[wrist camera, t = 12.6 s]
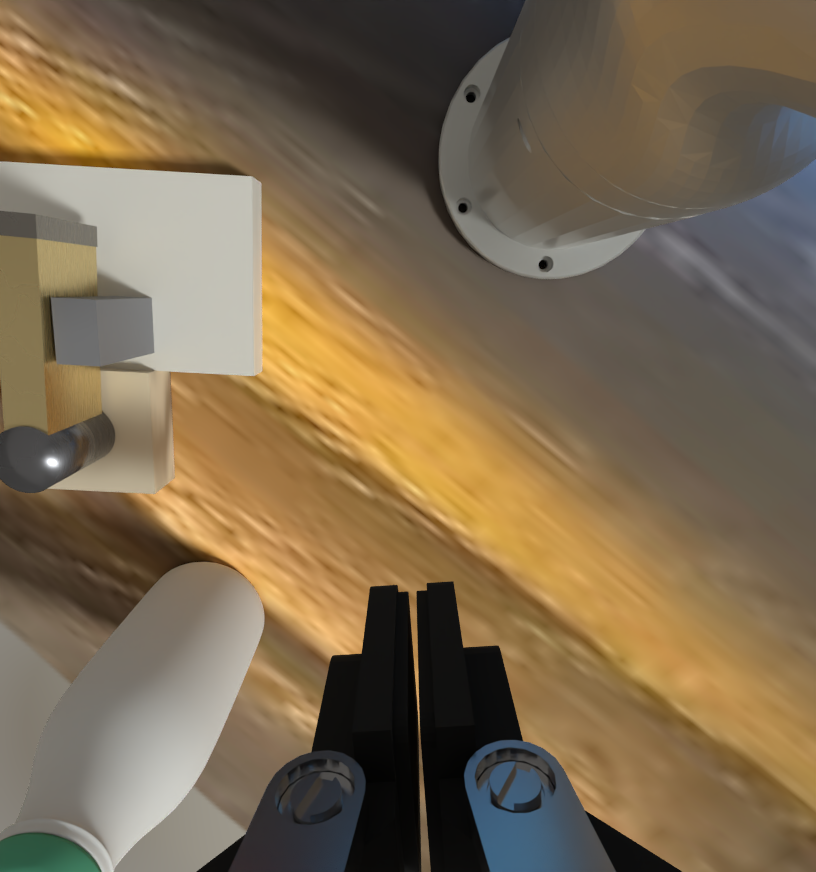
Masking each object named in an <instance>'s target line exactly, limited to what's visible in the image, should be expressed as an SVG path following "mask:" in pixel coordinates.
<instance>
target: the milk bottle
mask: <svg viewBox="0 0 816 872" xmlns="http://www.w3.org/2000/svg"><path fill="white" fill-rule="evenodd" d="M263 628H264V610H263V605H262V602H261V600H260V597H259V595H258V593H257V591H256V590H255V588H254V586H253V585H252V584H251V583H250V582H249V581H248V580H247V578H245V577H244V576H243V575H241V574H240V573H239V572H238V571H236V570H234V569H232V568H230V567H228V566H225V565H221V564H218V563H212V562H193V563H188V564H184V565H181V566H178V567H176V568H174V569H172V570H170V571H169V572H167V573H166V574H164V575H163V576H162V577H161V578H160V579H159V580H158V581H157V582H156V583H155V584H154V585H153V587H152V588H151V589H150V590H149V591H148V592H147V593H146V595H145V596H144V597H143V598H142V599H141V600H140V602H139V603H138V604H137V605H136V606H135V607H134V609H133V610H132V611H131V612H130V613H129V615H128V616H127V617H126V618H125V619H124V620H123V622H122V623H121V624H120V625H119V626H118V628H117V629H116V630H115V631H114V632H113V633H112V635H111V636H110V637H109V638H108V639H107V641H106V642H105V643H104V644H103V645H102V647H101V648H100V649H99V650H98V651H97V653H96V654H95V655H94V656H93V658H92V659H91V660H90V661H89V662H88V664H87V665H86V666H85V667H84V668H83V670H82V671H81V672H80V674H79V675H78V676H77V678H76V679H75V680H74V681H73V683H72V684H71V685H70V687H69V688H68V689H67V691H66V692H65V693H64V695H63V696H62V697H61V699H60V701H59V702H58V704H57V705H56V707H55V709H54V710H53V712H52V713H51V715H50V717H49V719H48V721H47V723H46V725H45V728H44V730H43V732H42V734H41V737H40V740H39V743H38V746H37V749H36V753H35V757H34V762H33V768H32V773H31V778H30V783H29V787H28V791H27V794H26V798H25V800H24V803H23V806H22V808H21V811H20V813H19V816H18V818H17V820H16V822H15V823H14V824H12V825H11V826H9V827H7V828H6V829H4V830H3V831H2V832H1V833H0V872H114V868H115V867H116V865H117V864H118V863H119V862H120V860H121V859H122V858H123V857H124V855H125V854H126V853H127V852H128V851H129V850H130V849H131V848H132V847H133V845H135V843H136V842H138V840H140V839H141V838H142V837H143V836H144V835H145V834H147V833H148V832H149V831H150V830H151V829H153V828H154V827H155V826H156V825H158V824H159V823H160V822H161V821H162V820H163V819H164V818H165V817H167V816H168V814H170V813H171V812H172V811H173V810H174V809H175V808H176V807H177V806H178V805H179V803H180V802H181V801H182V800H183V799H184V797H185V796H186V795H187V794H188V792H189V791H190V790H191V788H192V787H193V785H194V784H195V782H196V781H197V779H198V777H199V776H200V774H201V772H202V771H203V769H204V767H205V765H206V763H207V761H208V759H209V757H210V755H211V753H212V751H213V749H214V747H215V744H216V742H217V740H218V738H219V736H220V733H221V731H222V729H223V727H224V724H225V722H226V720H227V717H228V715H229V713H230V710H231V708H232V706H233V703H234V701H235V699H236V696H237V694H238V691H239V689H240V687H241V684H242V682H243V679H244V677H245V675H246V672H247V670H248V667H249V665H250V663H251V660H252V658H253V655H254V653H255V650H256V648H257V645H258V643H259V640H260V637H261V635H262V631H263Z"/></svg>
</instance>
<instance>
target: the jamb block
mask: <svg viewBox="0 0 816 872" xmlns="http://www.w3.org/2000/svg"><path fill="white" fill-rule="evenodd" d="M100 372H101V400H102V412H103V413H105V414H106V415H107V417H108V418H109V419H110V420H111V422H112V424H113V426H114V430H115V443H114V446H113V448H112V450H111V451H110V452H109V453H108V454H107V455H106V456H105V457H103V458H101V459H99V460H98V461H96V462H94V463H92V464H90V465H89V466H87V467H85V468H83V469H81V470H80V471H78V472H76V473H74V474H72V475H71V476H69V477H67V478H65V479H63V480H62V481H60V482H58V483H56V484H54V485H53V486H51V487H49V488H47V489H66V490H86V491H106V492H126V493H146V494H156V493H157V492H158V491H159V490H160V489H162V488H163V487H164V486H165V485H167V484H168V483H169V482H170V481H171V480H173V479H174V478H175V469H174V446H173V423H172V400H171V377H170V371H152V370H133V369H115V368H100Z"/></svg>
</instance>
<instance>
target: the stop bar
mask: <svg viewBox="0 0 816 872" xmlns="http://www.w3.org/2000/svg"><path fill="white" fill-rule="evenodd" d="M96 247H98V246H97V227H96V226H92V225H87V224H82V223H77V222H72V221H67V220H62V219H57V218H52V217H47V216H43V215H38V214H30V213H19V212H9V211H0V380H1V393H2V405H3V418H4V432H2V433H1V434H0V479H1V480H2V481H3V482H4V483H5V484H6V485H8V486H9V487H11V488H13V489H15V490H17V491H20V492H25V493H37V492H41V491H43V490H45V489H47V488H49V487H51V486H53V485H54V484H56V483H58V482H60V481H62V480H63V479H65V478H67V477H69V476H71V475H72V474H74V473H76V472H78V471H80V470H81V469H83V468H85V467H87V466H89V465H90V464H92V463H94V462H96V461H98V460H99V459H101V458H103V457H105V456H106V455H107V454H108V453H109V452H110V451H111V450H112V448H113V446H114V443H115V430H114V426H113V424H112V422H111V420H110V419H109V418H108V417H107V415H106V414H105V413H103V412H102V400H101V372H100V366H81V365H62V364H57V362H56V351H55V340H54V329H53V317H52V306H51V297H89V296H98V288H97V260H96Z"/></svg>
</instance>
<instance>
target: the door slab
mask: <svg viewBox="0 0 816 872" xmlns="http://www.w3.org/2000/svg"><path fill="white" fill-rule="evenodd" d="M0 211H9V212H19V213H30V214H38V215H43V216H47V217H52V218H57V219H62V220H67V221H72V222H77V223H82V224H87V225H92V226H96V227H97V246H98V247H96V260H97V288H98V296H89V297H51V306H52V317H53V329H54V340H55V351H56V362H57V364H62V365H81V366H100V368H115V369H133V370H152V371H171V372H189V373H208V374H227V375H245V376H255V375H257V374H258V373H260V372H262V211H261V183H260V182H259V181H258V180H256V179H255V178H254V177H252V176H237V175H220V174H203V173H187V172H170V171H153V170H136V169H119V168H103V167H86V166H69V165H52V164H35V163H19V162H2V161H0Z"/></svg>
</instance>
